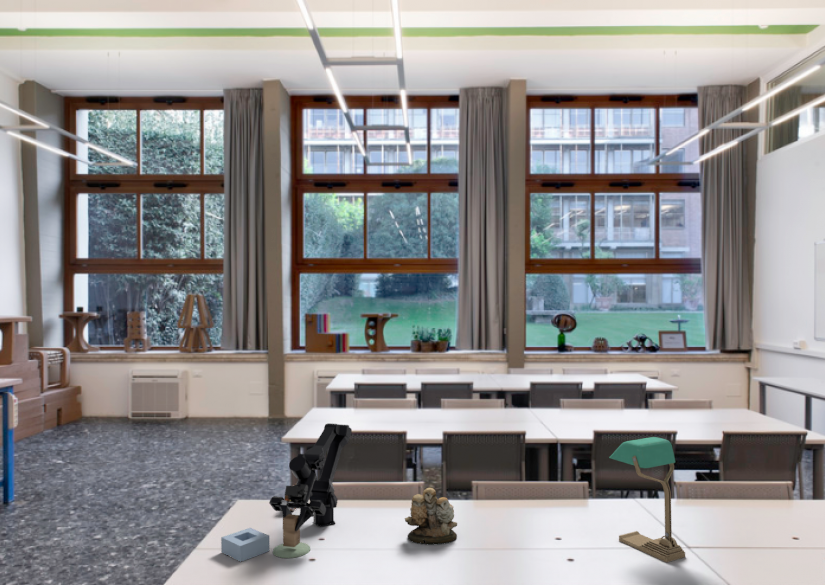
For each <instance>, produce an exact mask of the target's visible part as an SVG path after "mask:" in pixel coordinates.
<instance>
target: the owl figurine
mask: <svg viewBox="0 0 825 585" xmlns="http://www.w3.org/2000/svg"><path fill="white" fill-rule="evenodd" d="M454 513H455V510H454V505H452V504H451V503H450V502H449V500H448V498H447V497H444V496H443V497H439V498H437V493H436V490H435V489H434V488H433V487H426V488H425V489H424V490H423V492H422V494H420V493H417V494H415V495H413V496H412V498H411V507H410V516H407V517H405V518H404V520H405V523H407V525H409V526H410V527H411V526H412V527H415V528H413V529H412V530H411V531H409V532H408V533H407V538H408V540H409V541H410V542H412V543H414V544H418V545H419V544H420V545H423V544H425V545H427V544H428V545H429V546H433V545H434V544H437V545H444V543H445V544H448V543H449V542H450V543H452V542H453V541H456V540H457V537H458V534H457V533H456V532H455V531H454V530H453V529H454V528H456V527H457V526H458V522H457V521H453V520H454V518H455V514H454Z"/></svg>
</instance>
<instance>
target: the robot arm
mask: <svg viewBox="0 0 825 585" xmlns="http://www.w3.org/2000/svg"><path fill="white" fill-rule="evenodd" d="M352 432H353V431H352V428H351V427H350V425H349V424H338V423H325V425H324V427H323V431H322V432H321V434H320V436H318V438H317V440H316V442H315V444H314V445H313V446H312V447H310V448H308V449H307V450H306V451H305V452H304V453H297V456H295V457H294V458H292V459H291V460H290V461H289V464H288V468H289V470H290V471H291V472H292V474H293V476H294V477H295V479H297V481H296V483H294V484H293V485H294V486H293V485H285V491H284V497H283V496H275V495H273V496H271V498H270V499H269V502H268V503H269V505H270V506H271V508H272V509H273V510H274V511H276V512H281V513H282V514H281V515H282V519H283V518H284V517H286V516H287V515H288V514H292V515H293V512H292V511H290V509H291V508H297V509H299V514H298V515H299V518H298V520H297V523H296V526H295V531H297V530H298V529H299V528H300V529H301V527H303V525H304V524H305V523H306V522H307V521H309V520H310V518H313V520H312V521H313V522H314V524H315V525H316V526H317V527H319V528H321V527H324V526H326V527H327V526H330V525H335V524H336V521H335V520H334V518H335V516H334V511H335V510H334V508H337V507H338V506H337V505H338V500H339V499H338V497H337V495H336V493H335V488H334V484H333V481H334V477H335V474H336V470H337V468H338V463H339V460H340V457H341V454H342V449H343V448H344V447H345V446H346V445H347V444H348V443H349V441H350V438H351V436H352ZM326 453H327V454H326ZM325 455H326V456H325ZM315 471H321V474H320V477H319V478H318V476H317V473H316V472H315ZM286 495H287V496H288V499H290V500H291V501H285V499H284V498H285V496H286Z"/></svg>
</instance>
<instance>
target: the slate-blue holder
mask: <svg viewBox="0 0 825 585" xmlns="http://www.w3.org/2000/svg"><path fill="white" fill-rule="evenodd" d="M220 541H221V542H220V543H221V544H220V545H221V546H220V548H221V550H220V551H221V552H222V554H223V553H224V554H223V555H225V554H226V555H225V556H227V555H229V556H231V557H233V558H234V559H233V558H232V559H233V560H235V559H236V560H235V561H237V560H238V561H237V562H239V561H240V563H241V561H242V562H244V561H247V560H249V559H251V558H254V557H257V556H260V555H262V554H265V553H267V552H270V535H269V534H267V533H264V532H262V531H259V530H257V529H254V528H252V527H249V528H248V527H247V528H244V529H242V530H239V531H236V532H233V533H230V534H227V535H224V536H221V538H220ZM221 552H220V553H221ZM229 556H228V557H229ZM231 557H230V558H231Z"/></svg>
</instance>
